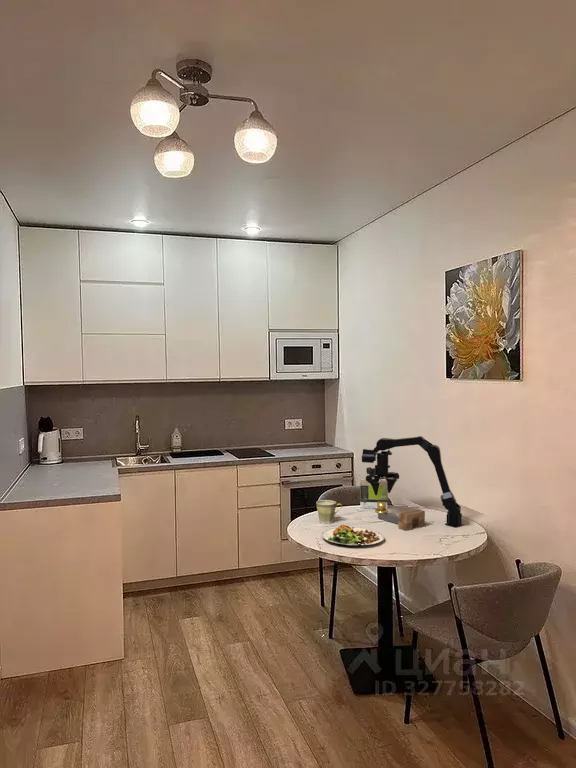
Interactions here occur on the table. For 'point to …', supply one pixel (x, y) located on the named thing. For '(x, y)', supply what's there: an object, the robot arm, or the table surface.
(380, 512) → the grey sliding bolt
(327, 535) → the plate of food
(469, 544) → the table surface
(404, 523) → the block
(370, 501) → the tea box
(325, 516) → the ceramic cup
